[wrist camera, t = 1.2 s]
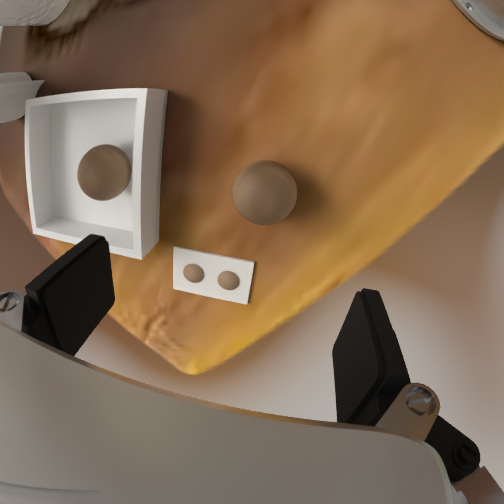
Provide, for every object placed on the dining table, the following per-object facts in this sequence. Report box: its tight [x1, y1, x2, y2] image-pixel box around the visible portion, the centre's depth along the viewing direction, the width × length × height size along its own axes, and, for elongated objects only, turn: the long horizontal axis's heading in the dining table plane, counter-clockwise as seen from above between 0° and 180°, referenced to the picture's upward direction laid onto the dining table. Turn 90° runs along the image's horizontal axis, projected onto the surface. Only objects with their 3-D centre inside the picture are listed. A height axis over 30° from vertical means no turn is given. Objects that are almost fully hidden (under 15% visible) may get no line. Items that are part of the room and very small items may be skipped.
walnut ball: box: [232, 160, 297, 225], centre depth 23 cm, size 5×5×5 cm
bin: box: [25, 88, 168, 260], centre depth 24 cm, size 15×15×4 cm
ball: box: [77, 144, 131, 201], centre depth 23 cm, size 5×5×5 cm
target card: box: [173, 246, 255, 304], centre depth 29 cm, size 8×5×1 cm, turn 82°
